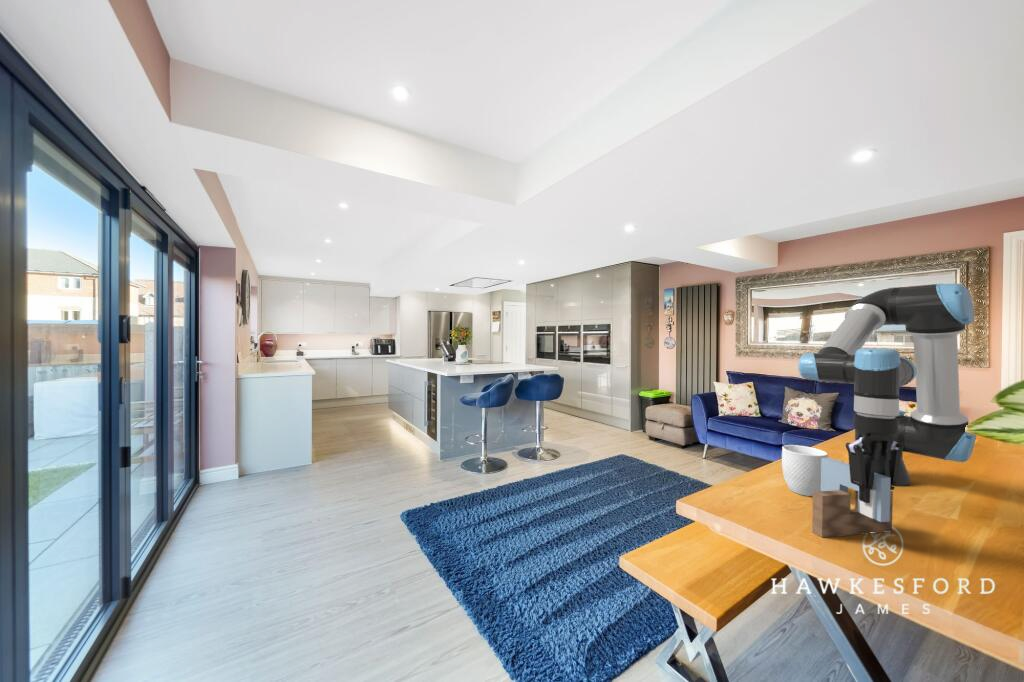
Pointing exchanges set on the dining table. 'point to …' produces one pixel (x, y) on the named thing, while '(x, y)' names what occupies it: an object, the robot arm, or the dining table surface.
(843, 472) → the pale blue flat slat
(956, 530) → the dining table surface
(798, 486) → the mug
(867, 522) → the walnut slot plate
